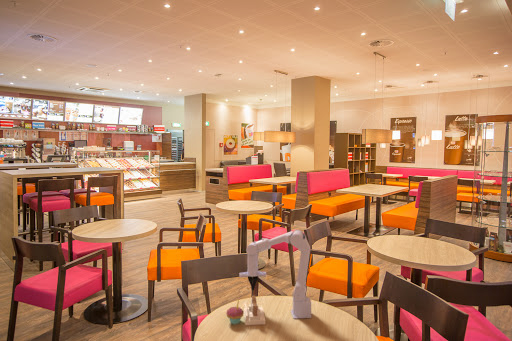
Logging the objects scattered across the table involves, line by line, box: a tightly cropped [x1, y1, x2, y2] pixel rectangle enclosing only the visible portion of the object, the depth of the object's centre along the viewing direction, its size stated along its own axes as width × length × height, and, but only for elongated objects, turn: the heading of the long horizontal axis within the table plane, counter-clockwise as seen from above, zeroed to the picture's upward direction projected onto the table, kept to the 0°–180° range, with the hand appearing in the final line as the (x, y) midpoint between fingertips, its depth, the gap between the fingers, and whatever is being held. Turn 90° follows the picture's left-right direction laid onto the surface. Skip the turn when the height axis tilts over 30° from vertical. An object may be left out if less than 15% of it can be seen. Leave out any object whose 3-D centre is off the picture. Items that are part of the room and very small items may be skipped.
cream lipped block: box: [243, 302, 266, 326], centre depth 161 cm, size 10×13×5 cm
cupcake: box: [225, 299, 244, 325], centre depth 157 cm, size 9×8×12 cm
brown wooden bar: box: [250, 295, 258, 316], centre depth 161 cm, size 2×11×5 cm, turn 5°
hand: (252, 289), depth 171 cm, fingers closed
